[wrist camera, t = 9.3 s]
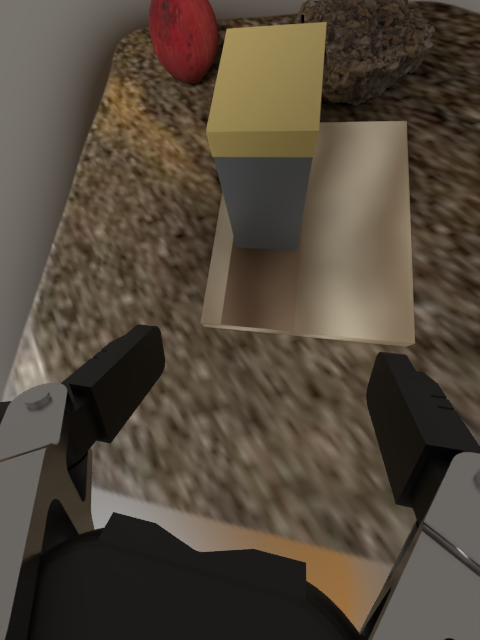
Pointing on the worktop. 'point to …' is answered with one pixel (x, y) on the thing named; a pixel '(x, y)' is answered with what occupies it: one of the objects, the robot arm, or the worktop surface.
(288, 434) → the worktop surface
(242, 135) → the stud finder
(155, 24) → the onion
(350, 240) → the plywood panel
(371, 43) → the concrete sample
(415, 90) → the worktop surface
